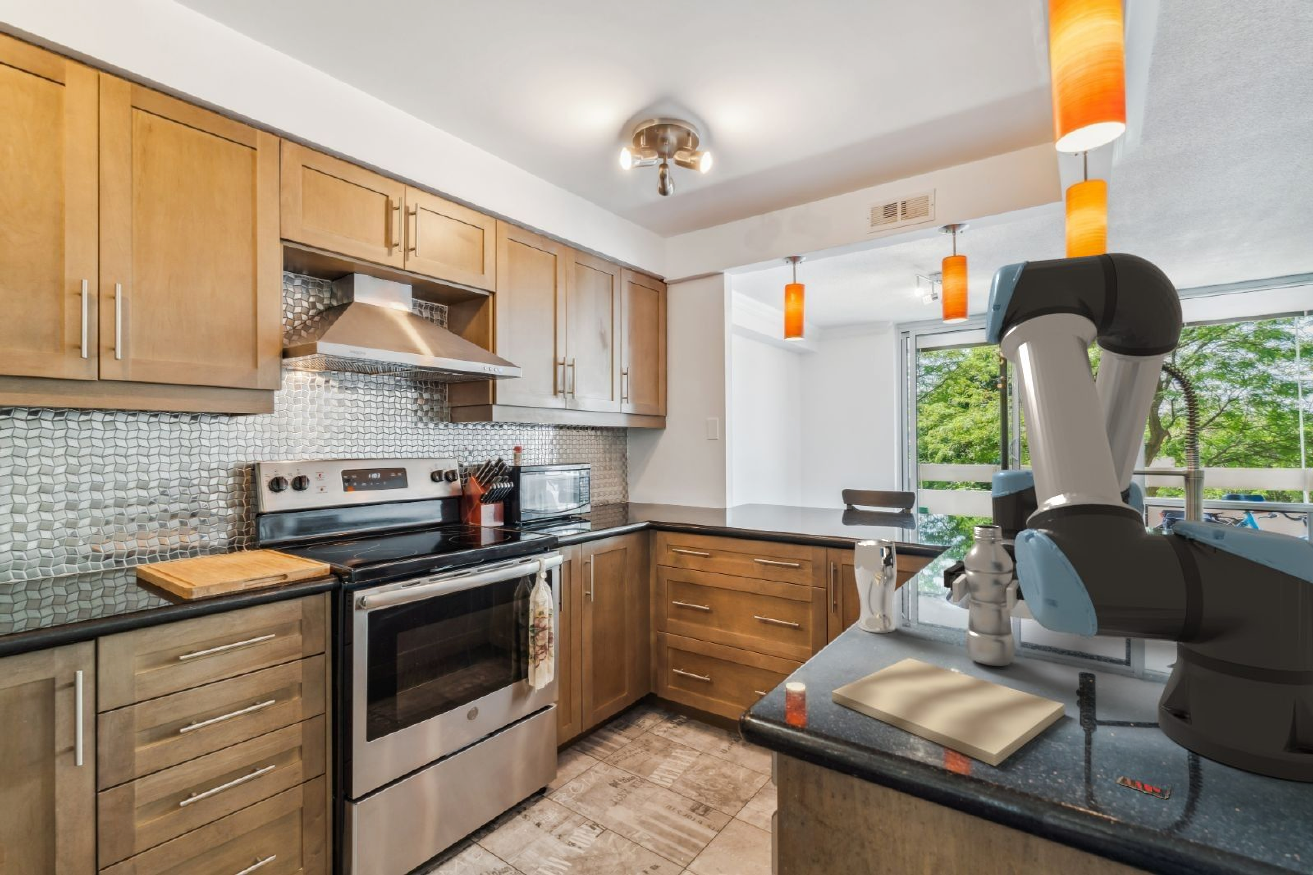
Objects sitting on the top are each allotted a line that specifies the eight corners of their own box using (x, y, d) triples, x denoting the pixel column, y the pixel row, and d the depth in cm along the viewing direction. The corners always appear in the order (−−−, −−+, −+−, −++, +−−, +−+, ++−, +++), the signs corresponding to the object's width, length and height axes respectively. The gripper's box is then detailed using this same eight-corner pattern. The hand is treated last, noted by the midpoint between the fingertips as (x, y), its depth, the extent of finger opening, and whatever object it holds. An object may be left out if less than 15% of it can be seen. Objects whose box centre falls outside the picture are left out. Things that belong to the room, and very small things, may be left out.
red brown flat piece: (1169, 780, 59) (1169, 775, 59) (1178, 807, 55) (1178, 802, 55) (1109, 766, 62) (1109, 761, 62) (1114, 791, 58) (1113, 786, 58)
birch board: (1064, 714, 73) (1064, 704, 73) (995, 766, 62) (995, 754, 62) (908, 666, 89) (908, 657, 89) (831, 700, 78) (831, 691, 78)
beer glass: (891, 621, 109) (889, 538, 109) (903, 634, 103) (901, 545, 102) (851, 621, 110) (849, 539, 110) (861, 634, 103) (858, 545, 103)
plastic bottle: (965, 667, 88) (962, 529, 88) (966, 652, 94) (963, 522, 94) (1017, 674, 85) (1014, 531, 85) (1014, 658, 91) (1011, 524, 91)
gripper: (1076, 595, 97) (1064, 635, 79) (947, 580, 109) (911, 611, 91) (1075, 549, 97) (1063, 577, 79) (946, 538, 109) (910, 561, 91)
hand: (982, 595), depth 85 cm, fingers closed on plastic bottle, 6 cm apart
